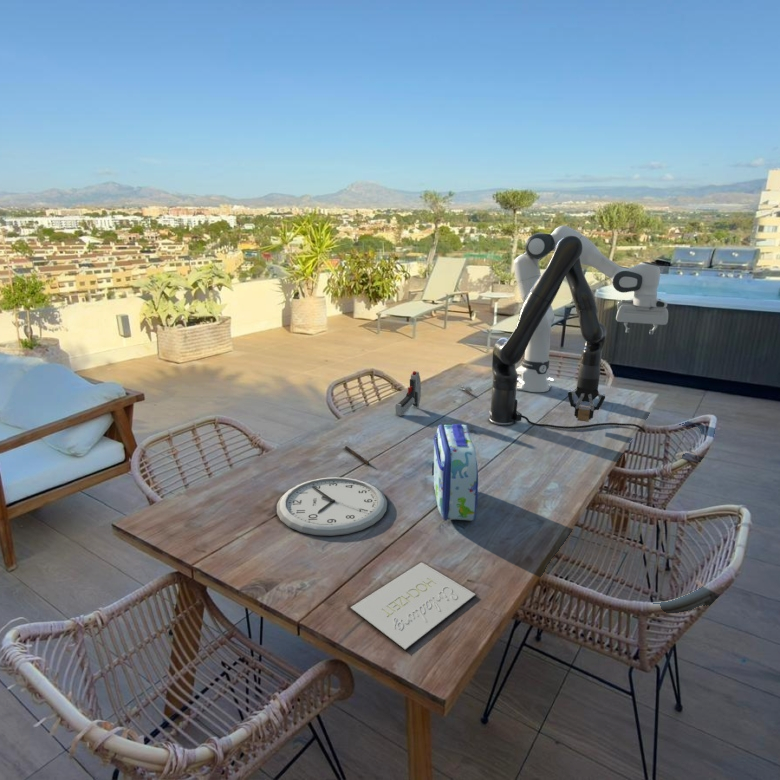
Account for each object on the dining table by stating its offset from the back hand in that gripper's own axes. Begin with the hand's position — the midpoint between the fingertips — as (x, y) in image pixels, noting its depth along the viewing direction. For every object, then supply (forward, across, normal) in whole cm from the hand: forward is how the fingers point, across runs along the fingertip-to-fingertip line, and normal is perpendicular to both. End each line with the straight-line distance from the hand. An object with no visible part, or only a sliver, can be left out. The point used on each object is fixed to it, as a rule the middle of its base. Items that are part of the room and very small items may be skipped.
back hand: (639, 333), depth 227 cm
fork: (+31, -70, -18) cm, 79 cm away
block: (+27, -19, -44) cm, 55 cm away
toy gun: (+31, -87, -54) cm, 107 cm away
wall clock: (+31, -82, -134) cm, 160 cm away
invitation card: (+31, -49, -162) cm, 172 cm away
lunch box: (+31, -52, -120) cm, 134 cm away
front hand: (+27, -19, -44) cm, 55 cm away
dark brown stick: (+31, -89, -102) cm, 139 cm away
